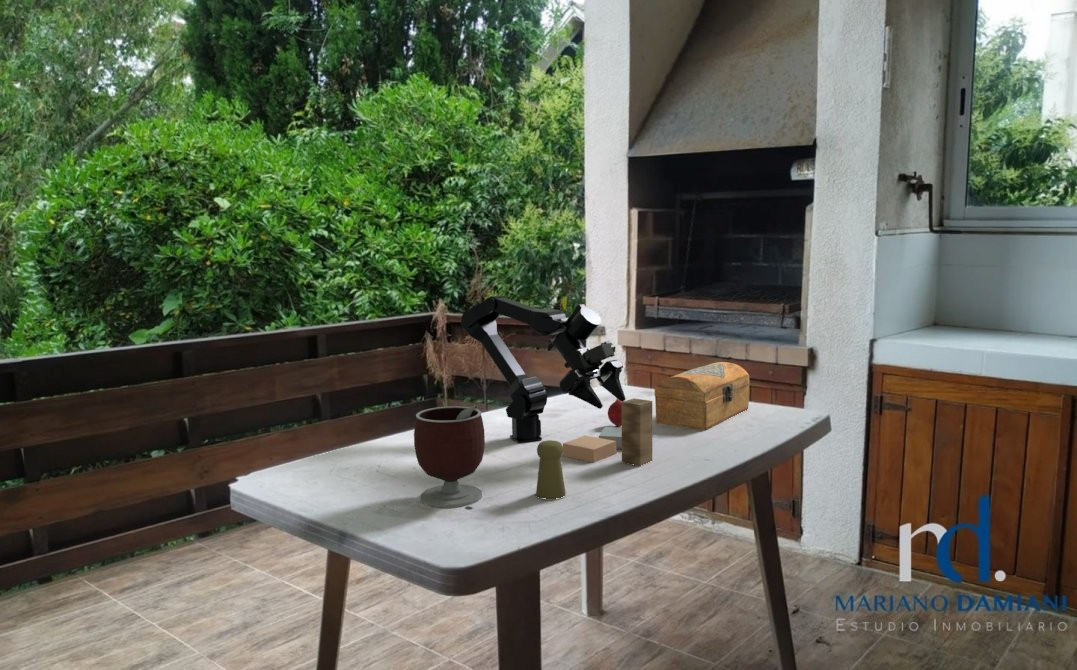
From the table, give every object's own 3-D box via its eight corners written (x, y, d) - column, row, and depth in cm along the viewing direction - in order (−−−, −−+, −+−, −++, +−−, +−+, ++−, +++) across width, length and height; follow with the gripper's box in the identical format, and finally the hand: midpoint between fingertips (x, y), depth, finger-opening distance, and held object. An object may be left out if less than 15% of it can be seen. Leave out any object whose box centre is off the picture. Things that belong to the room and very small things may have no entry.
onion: (630, 429, 208) (630, 399, 207) (608, 429, 208) (608, 400, 207) (628, 424, 213) (628, 395, 212) (607, 424, 213) (606, 395, 212)
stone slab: (598, 447, 190) (598, 435, 190) (605, 438, 199) (605, 426, 199) (635, 449, 188) (635, 437, 188) (640, 440, 197) (640, 428, 196)
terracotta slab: (562, 455, 184) (562, 443, 184) (585, 447, 191) (585, 435, 191) (594, 462, 179) (593, 449, 178) (616, 453, 185) (616, 441, 185)
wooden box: (708, 432, 204) (708, 380, 202) (652, 423, 214) (652, 373, 212) (754, 410, 227) (755, 363, 226) (702, 403, 238) (702, 358, 236)
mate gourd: (402, 497, 157) (398, 399, 154) (457, 481, 167) (453, 389, 164) (450, 516, 146) (447, 411, 143) (506, 498, 156) (503, 399, 153)
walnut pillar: (621, 462, 178) (621, 402, 176) (633, 457, 182) (633, 398, 180) (640, 466, 175) (640, 404, 173) (652, 461, 179) (652, 401, 177)
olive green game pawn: (531, 492, 159) (530, 439, 157) (559, 488, 161) (558, 436, 159) (542, 501, 153) (541, 447, 152) (570, 497, 155) (569, 443, 154)
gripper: (568, 335, 175) (609, 389, 170) (616, 326, 189) (655, 376, 184) (542, 366, 181) (581, 419, 176) (590, 356, 195) (627, 404, 190)
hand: (613, 403), depth 181 cm, fingers open, 9 cm apart
